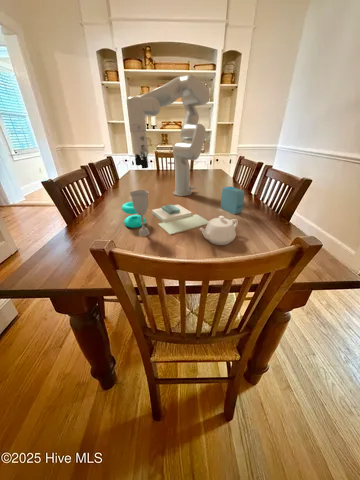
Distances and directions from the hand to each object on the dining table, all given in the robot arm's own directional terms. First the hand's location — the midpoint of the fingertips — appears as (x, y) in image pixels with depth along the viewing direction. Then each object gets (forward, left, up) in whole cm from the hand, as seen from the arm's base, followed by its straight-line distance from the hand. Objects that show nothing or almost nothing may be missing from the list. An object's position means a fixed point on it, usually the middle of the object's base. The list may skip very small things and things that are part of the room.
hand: (141, 166), depth 103 cm
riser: (-7, +18, -22) cm, 29 cm away
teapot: (-11, +51, -23) cm, 57 cm away
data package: (-37, +30, -23) cm, 53 cm away
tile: (-7, +17, -20) cm, 27 cm away
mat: (-7, +31, -22) cm, 39 cm away
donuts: (+13, +19, -23) cm, 32 cm away
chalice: (+13, +30, -22) cm, 39 cm away
